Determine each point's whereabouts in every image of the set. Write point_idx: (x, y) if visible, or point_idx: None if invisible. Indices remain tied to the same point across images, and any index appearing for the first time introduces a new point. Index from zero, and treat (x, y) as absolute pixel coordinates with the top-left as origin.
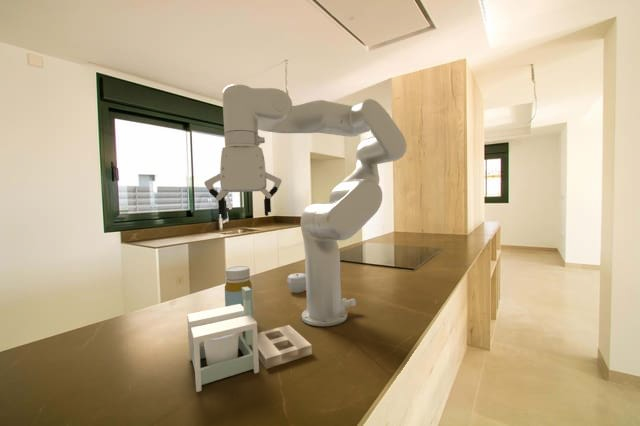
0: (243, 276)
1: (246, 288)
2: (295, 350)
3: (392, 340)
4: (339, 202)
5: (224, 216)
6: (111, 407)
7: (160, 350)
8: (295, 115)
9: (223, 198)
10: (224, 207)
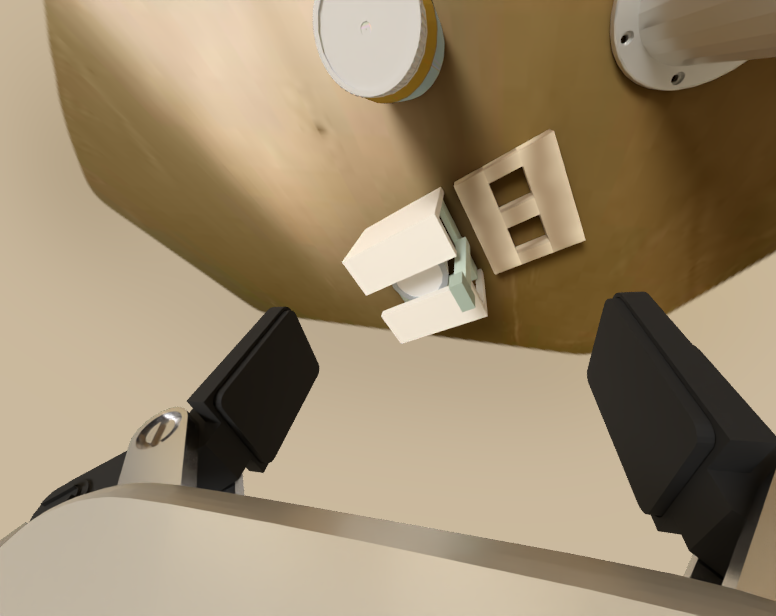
0: (408, 77)
1: (462, 297)
2: (548, 253)
3: None
4: None
5: (317, 373)
6: (337, 310)
7: (300, 195)
8: None
9: (240, 471)
10: (291, 415)
